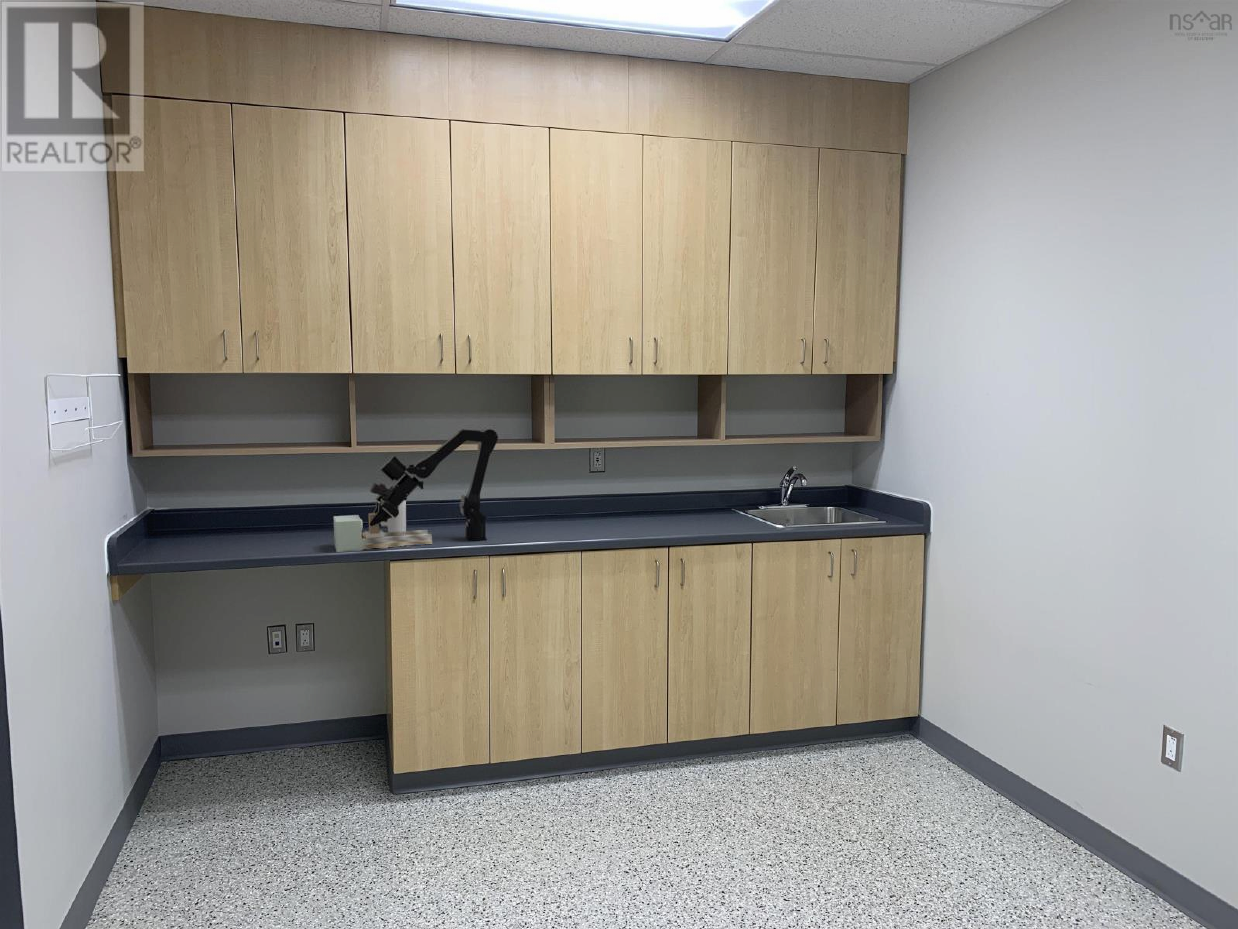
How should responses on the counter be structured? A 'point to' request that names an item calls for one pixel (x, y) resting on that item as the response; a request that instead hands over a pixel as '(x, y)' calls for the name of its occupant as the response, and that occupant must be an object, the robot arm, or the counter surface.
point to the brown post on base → (373, 529)
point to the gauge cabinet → (348, 533)
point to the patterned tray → (398, 539)
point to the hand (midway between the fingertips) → (369, 524)
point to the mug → (397, 520)
